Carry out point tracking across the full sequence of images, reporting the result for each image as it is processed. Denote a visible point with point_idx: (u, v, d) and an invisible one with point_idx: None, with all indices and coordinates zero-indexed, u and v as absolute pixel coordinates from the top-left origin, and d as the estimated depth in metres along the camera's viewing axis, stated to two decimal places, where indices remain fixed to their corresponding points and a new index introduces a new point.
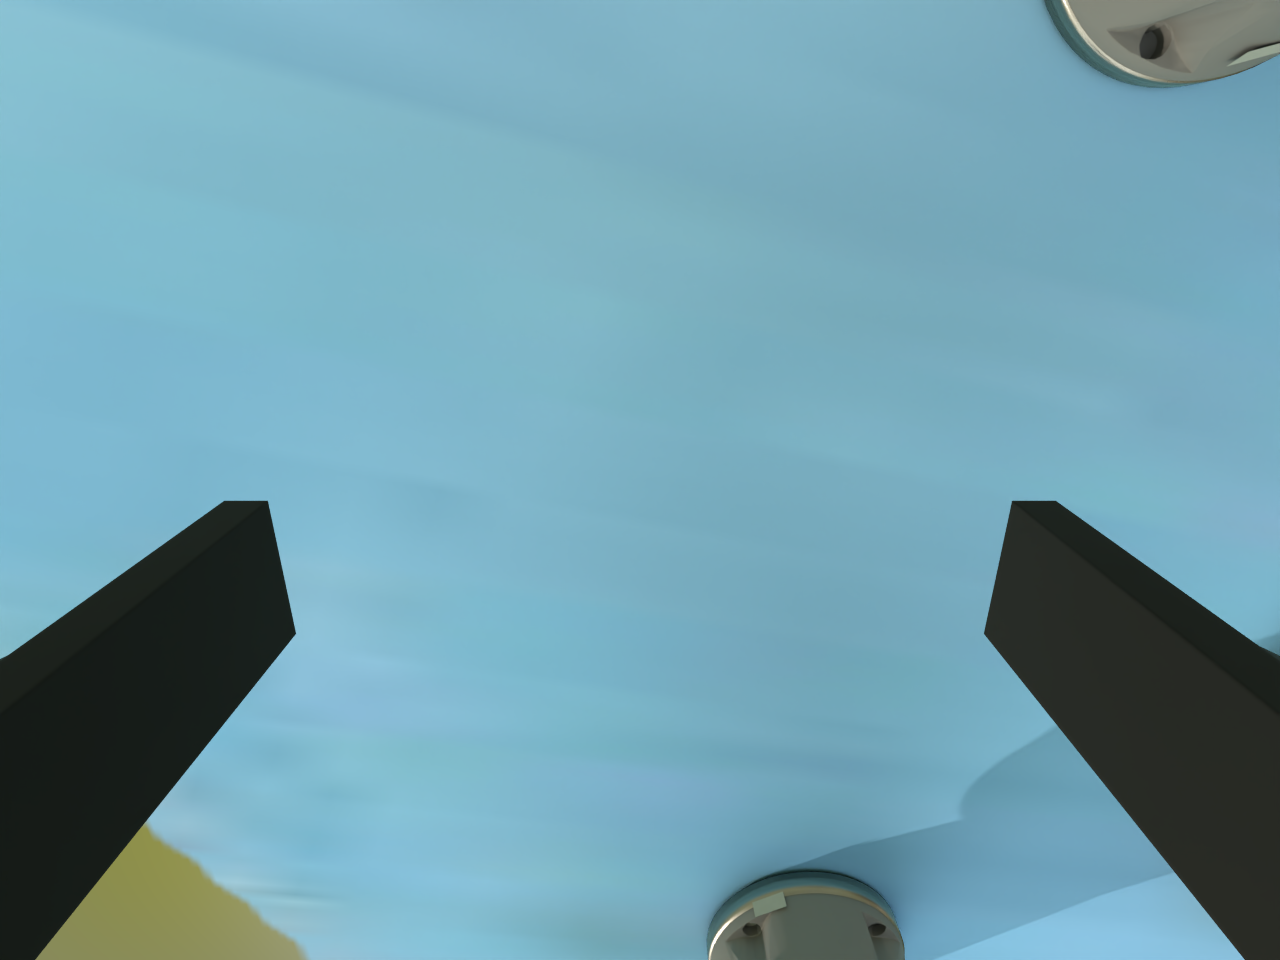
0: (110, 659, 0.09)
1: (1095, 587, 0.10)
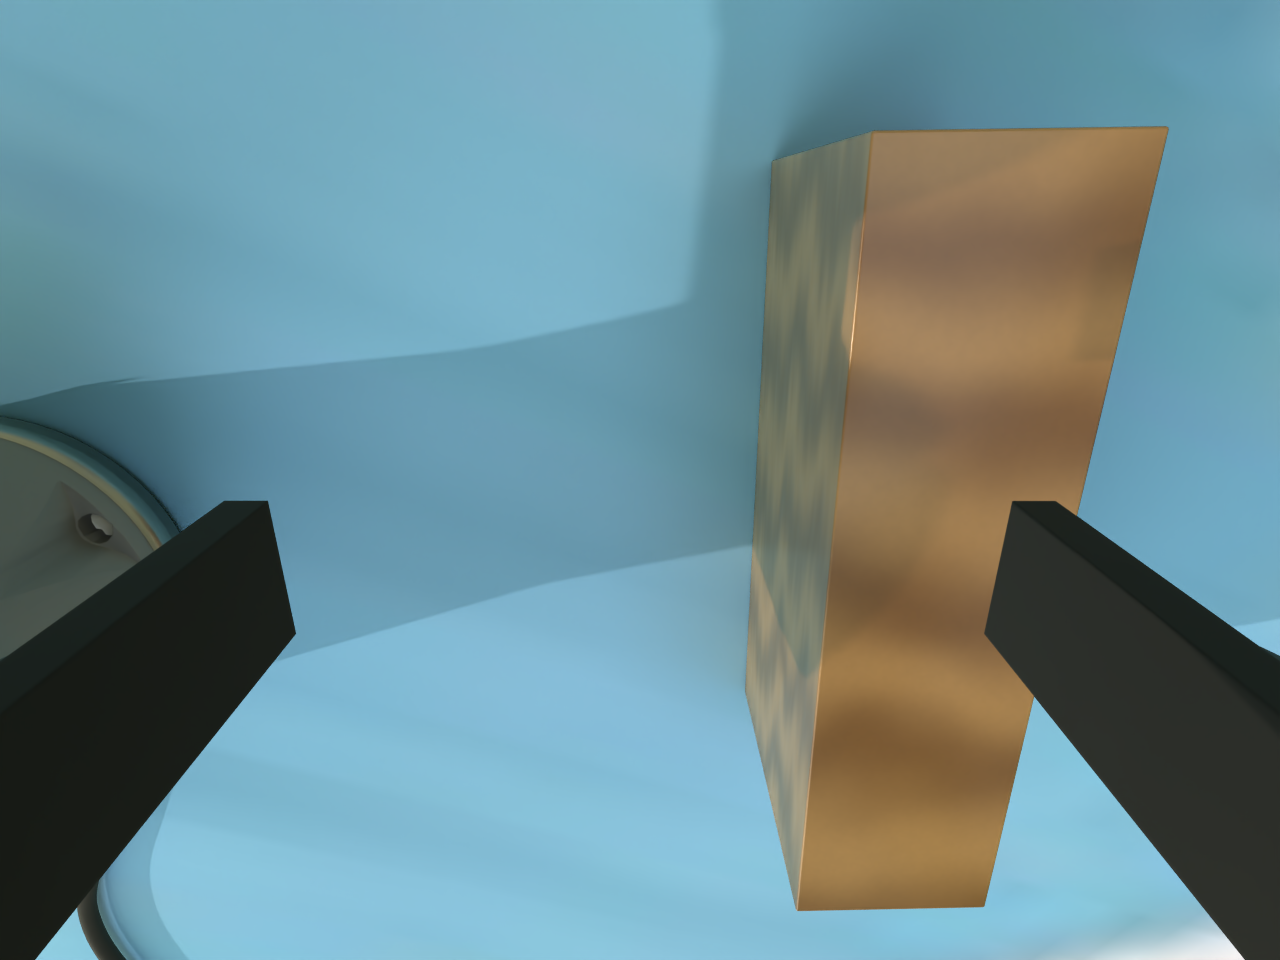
0: (110, 659, 0.08)
1: (1095, 587, 0.10)
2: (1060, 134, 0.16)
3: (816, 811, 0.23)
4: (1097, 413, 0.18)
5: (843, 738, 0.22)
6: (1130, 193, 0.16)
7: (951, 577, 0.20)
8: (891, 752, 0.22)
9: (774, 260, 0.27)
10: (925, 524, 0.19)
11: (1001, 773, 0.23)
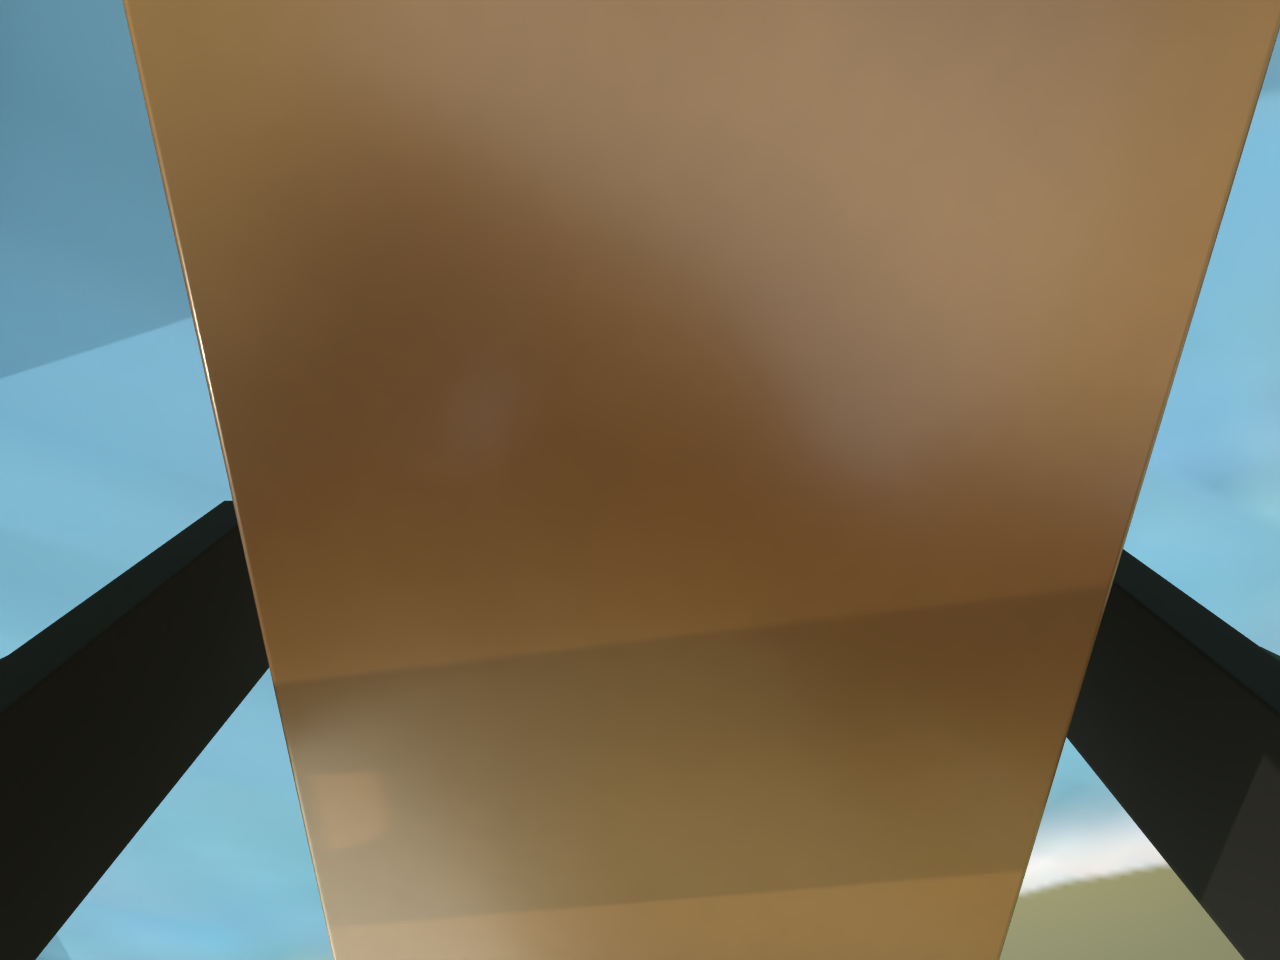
0: (111, 659, 0.09)
1: None
2: None
3: (322, 735, 0.06)
4: None
5: (342, 391, 0.05)
6: None
7: None
8: (567, 475, 0.05)
9: None
10: None
11: (1046, 601, 0.05)
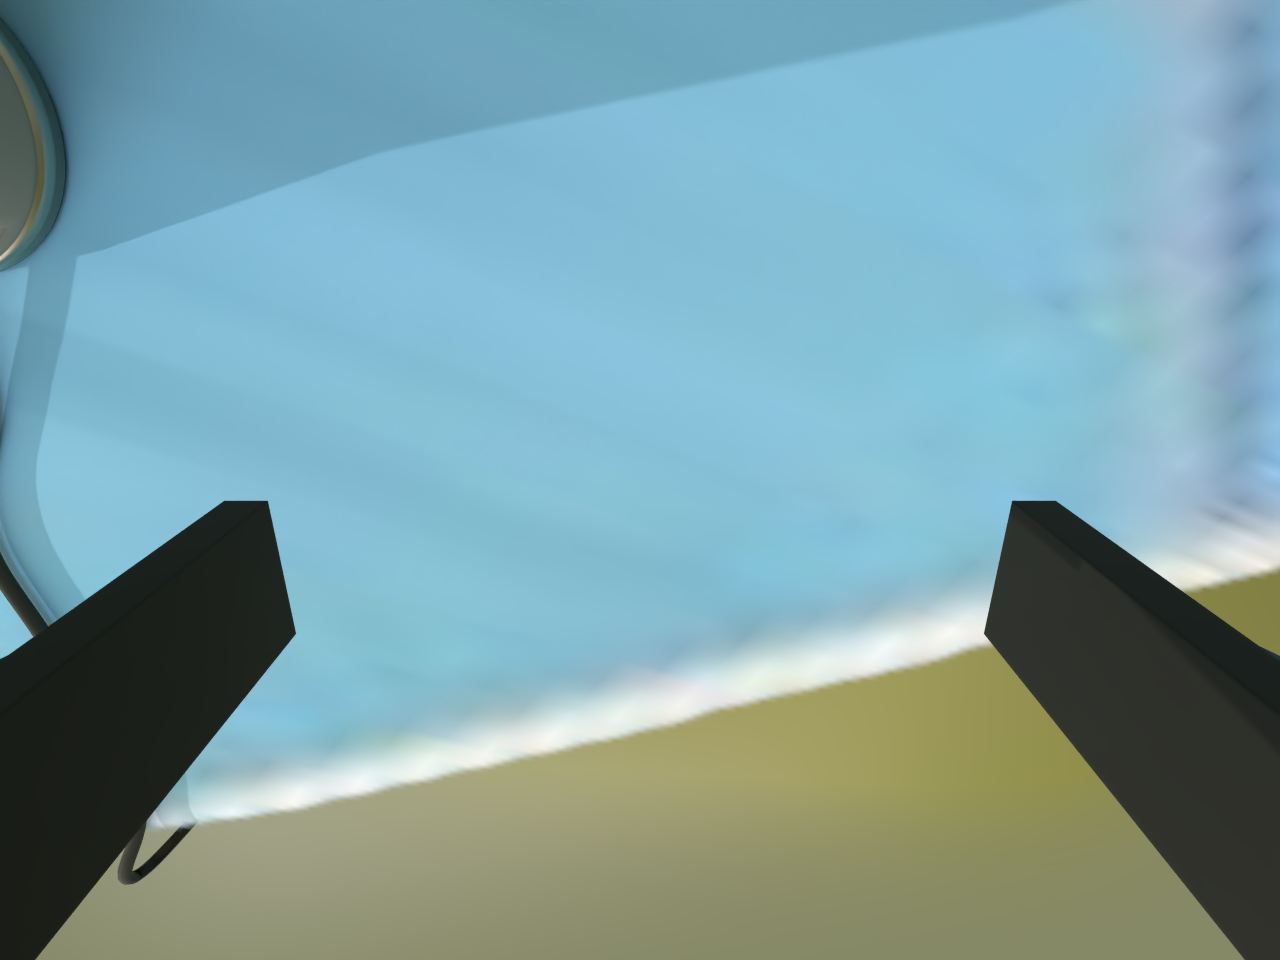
0: (110, 659, 0.08)
1: (1095, 587, 0.10)
2: None
3: None
4: None
5: None
6: None
7: None
8: None
9: None
10: None
11: None
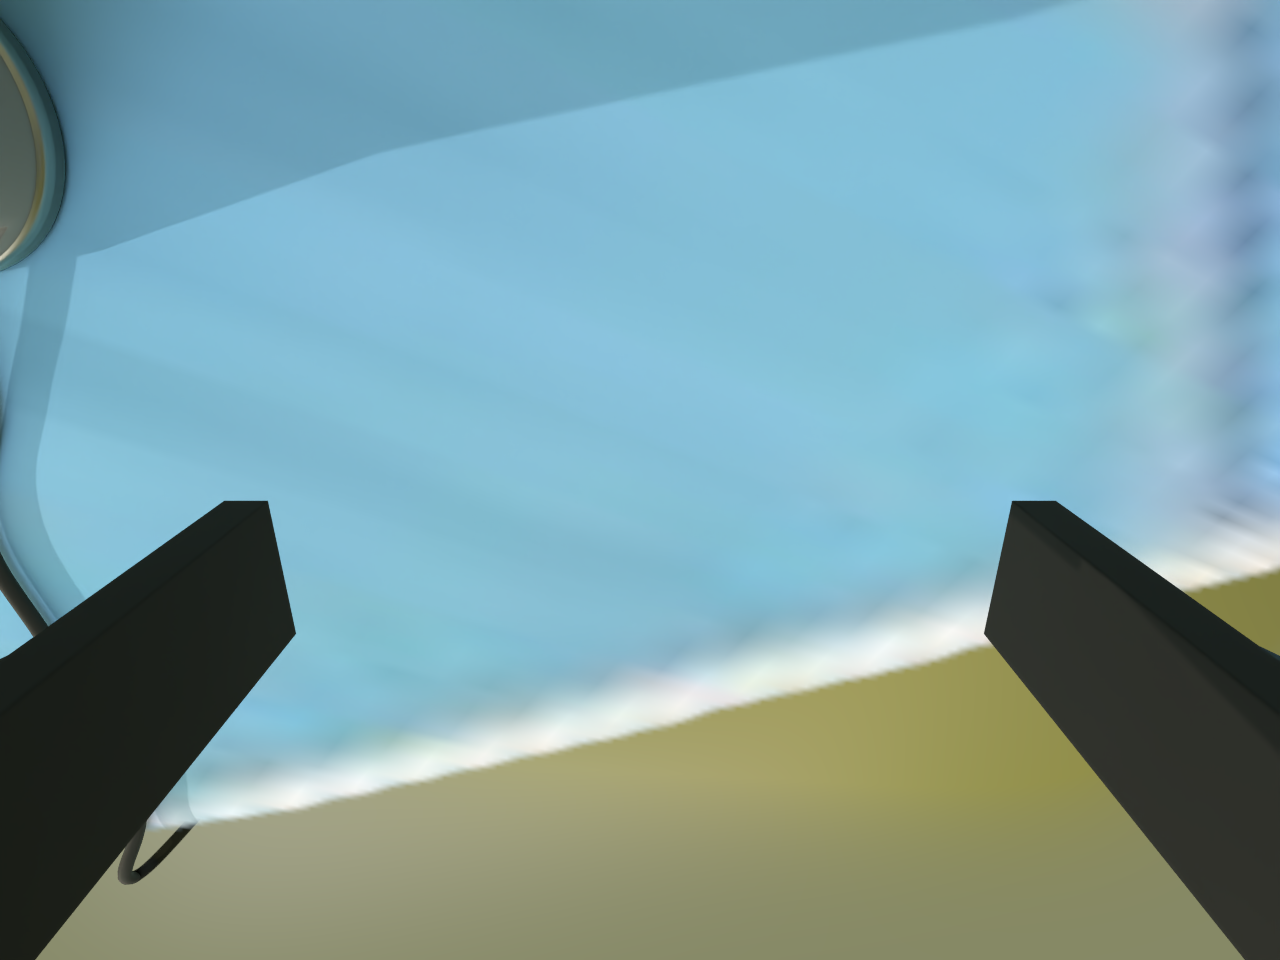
0: (110, 659, 0.08)
1: (1095, 587, 0.10)
2: None
3: None
4: None
5: None
6: None
7: None
8: None
9: None
10: None
11: None
